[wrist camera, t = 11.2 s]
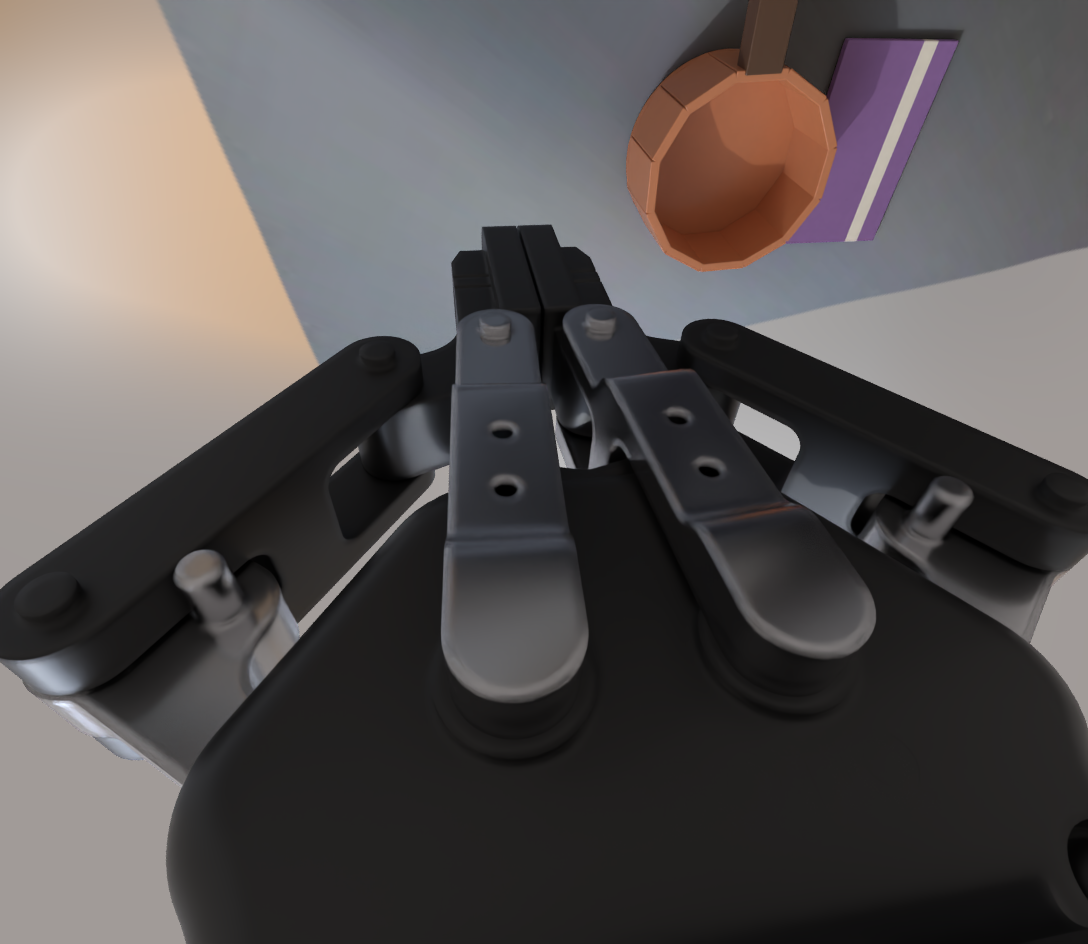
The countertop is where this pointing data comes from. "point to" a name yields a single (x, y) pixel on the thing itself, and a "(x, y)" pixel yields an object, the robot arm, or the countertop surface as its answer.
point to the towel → (873, 130)
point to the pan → (732, 149)
